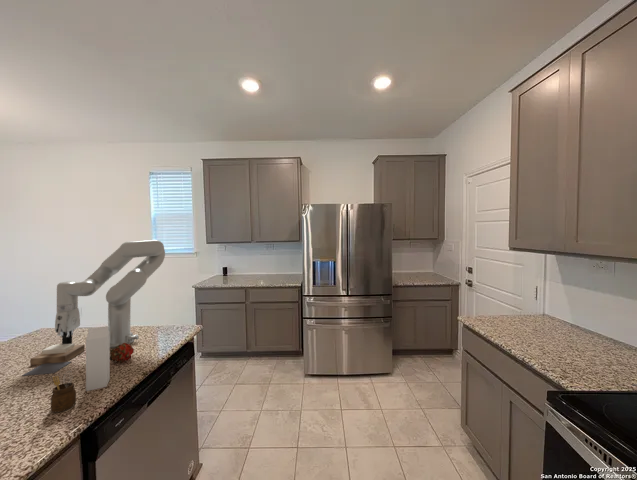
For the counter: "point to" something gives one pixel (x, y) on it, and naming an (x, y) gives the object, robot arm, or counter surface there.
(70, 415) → the counter surface
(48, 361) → the brown square plate
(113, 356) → the dragon fruit
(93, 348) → the milk
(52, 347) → the white rectangular block
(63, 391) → the utensil holder
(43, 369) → the mat
